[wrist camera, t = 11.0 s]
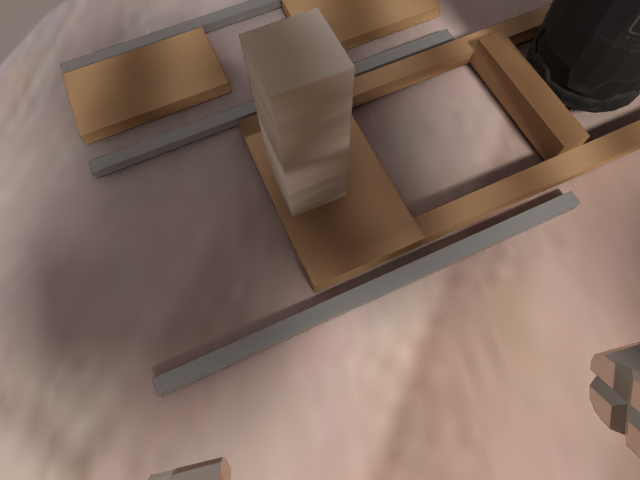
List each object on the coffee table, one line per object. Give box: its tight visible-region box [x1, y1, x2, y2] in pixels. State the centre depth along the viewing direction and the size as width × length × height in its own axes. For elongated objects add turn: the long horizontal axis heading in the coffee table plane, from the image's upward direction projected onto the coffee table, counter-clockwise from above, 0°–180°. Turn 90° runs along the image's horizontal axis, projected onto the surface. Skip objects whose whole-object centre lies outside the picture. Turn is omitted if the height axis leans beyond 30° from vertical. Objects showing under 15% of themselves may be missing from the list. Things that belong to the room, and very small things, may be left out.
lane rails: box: [60, 0, 580, 396], centre depth 26 cm, size 23×21×1 cm
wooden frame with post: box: [237, 4, 640, 292], centre depth 21 cm, size 26×11×10 cm, turn 114°
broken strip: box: [62, 0, 441, 144], centre depth 28 cm, size 24×5×1 cm, turn 114°
